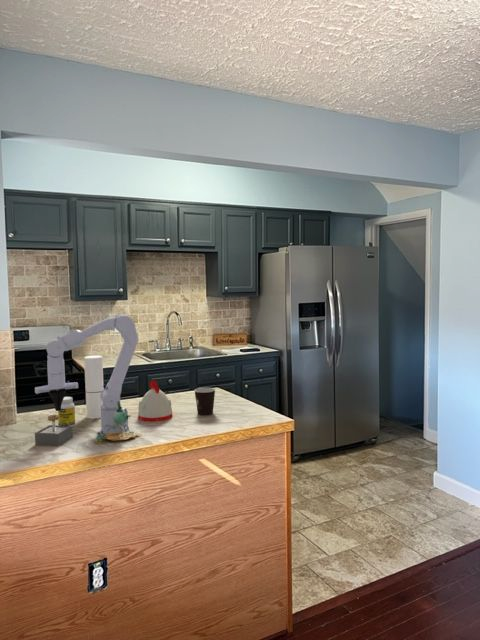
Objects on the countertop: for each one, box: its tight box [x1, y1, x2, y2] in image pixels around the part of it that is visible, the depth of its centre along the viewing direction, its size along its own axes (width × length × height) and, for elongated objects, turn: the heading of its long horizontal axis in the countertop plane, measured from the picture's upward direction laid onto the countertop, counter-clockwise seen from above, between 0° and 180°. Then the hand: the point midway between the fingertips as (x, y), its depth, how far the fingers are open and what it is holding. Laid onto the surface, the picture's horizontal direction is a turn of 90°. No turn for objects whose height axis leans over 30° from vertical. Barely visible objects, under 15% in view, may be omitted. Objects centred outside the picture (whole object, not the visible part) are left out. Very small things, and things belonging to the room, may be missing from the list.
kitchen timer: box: [137, 380, 173, 423], centre depth 201 cm, size 14×14×15 cm
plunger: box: [40, 414, 67, 434], centre depth 172 cm, size 7×7×5 cm
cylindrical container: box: [83, 355, 105, 420], centre depth 202 cm, size 7×7×25 cm
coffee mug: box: [194, 387, 216, 417], centre depth 206 cm, size 12×9×10 cm
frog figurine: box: [93, 400, 143, 445], centre depth 175 cm, size 10×18×15 cm, turn 115°
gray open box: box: [34, 424, 74, 447], centre depth 173 cm, size 9×10×4 cm
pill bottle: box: [57, 396, 76, 428], centre depth 190 cm, size 6×6×11 cm
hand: (57, 410), depth 176 cm, fingers closed
